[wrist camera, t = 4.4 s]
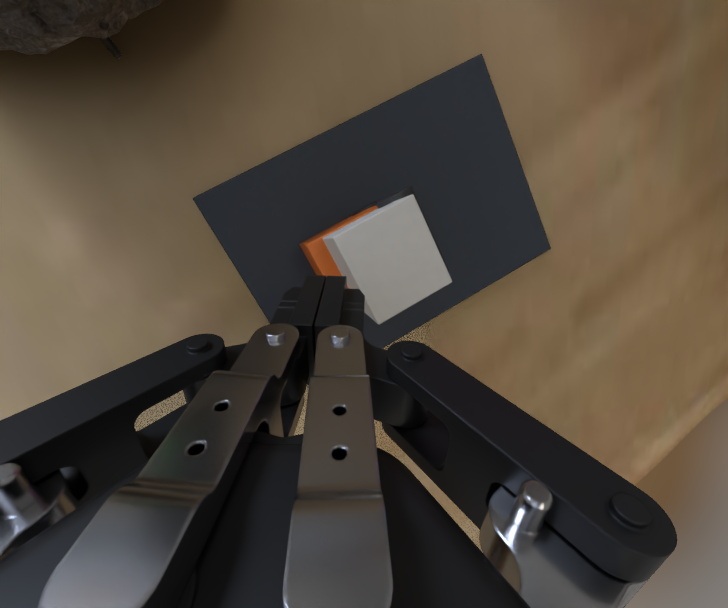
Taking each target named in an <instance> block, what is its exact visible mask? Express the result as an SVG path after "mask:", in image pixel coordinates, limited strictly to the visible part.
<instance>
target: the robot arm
mask: <svg viewBox="0 0 728 608" xmlns="http://www.w3.org/2000/svg"><path fill="white" fill-rule="evenodd" d="M364 305H365V295H364V294H363V293H362V291H361V290H360V289H347V277H346V276H327V277H326V275H307V276H306V278H305V281H304V284H303V286H302V287H292V288H291V289H289V290H288V291H286V292H285V293H284V295H283V297H282V299H281V302H280V303H279V306H278V308H277V310H276V312H275V314H274V316H273V318H272V321H271V323H270V324H269V325H266V326H263V327H261V328H259V329H258V330H257V331H255V333H254V334H253V335H252V337H251V339H250V340H249V342H248V343H246V344H241V345H235V346H229V347H225V345H224V341H223V339H222V338H221V337H219V336H217V335H214V334H199V335H194V336H191V337H188V338H186V339H183V340H181V341H179V342H177V343H174V344H172V345H170V346H168V347H165V348H163V349H161V350H159V351H156V352H154V353H152V354H150V355H147V356H145V357H143V358H141V359H138V360H136V361H134V362H132V363H129V364H127V365H125V366H123V367H120V368H118V369H116V370H114V371H111V372H109V373H107V374H105V375H102V376H100V377H98V378H96V379H93V380H91V381H89V382H87V383H84V384H82V385H80V386H78V387H75V388H73V389H71V390H69V391H66V392H64V393H62V394H60V395H57V396H55V397H53V398H51V399H48V400H46V401H44V402H42V403H39V404H37V405H35V406H33V407H30V408H28V409H26V410H24V411H21V412H19V413H17V414H15V415H12V416H10V417H8V418H6V419H3V420H1V421H0V608H624V607H625V606H626V604H627V603H628V602H629V601H630V600H631V599H632V598H633V596H634V595H635V594H636V593H637V592H638V591H639V590H640V588H641V587H642V586H643V585H644V584H645V583H646V582H647V581H648V579H649V578H650V577H651V576H652V575H653V574H654V573H655V571H656V570H657V569H658V568H659V567H660V566H661V565H662V563H663V562H664V561H665V560H666V559H667V558H668V557H669V555H670V554H671V553H672V552H673V551H674V549H675V547H676V544H677V534H676V531H675V528H674V526H673V524H672V522H671V520H670V518H669V517H668V515H667V514H666V513H665V511H664V510H663V509H662V508H661V507H660V506H659V505H658V504H657V502H655V501H654V500H653V499H652V498H651V497H649V496H648V495H647V494H646V493H644V492H643V491H641V490H640V489H639V488H637V487H636V486H634V485H633V484H631V483H630V482H628V481H627V480H625V479H624V478H622V477H621V476H619V475H618V474H616V473H615V472H613V471H612V470H610V469H609V468H607V467H606V466H604V465H603V464H602V463H600V462H599V461H597V460H596V459H594V458H593V457H591V456H590V455H588V454H587V453H585V452H584V451H582V450H581V449H579V448H578V447H576V446H575V445H573V444H572V443H570V442H569V441H567V440H566V439H564V438H563V437H561V436H560V435H559V434H557V433H556V432H554V431H553V430H551V429H550V428H548V427H547V426H545V425H544V424H542V423H541V422H539V421H538V420H536V419H535V418H533V417H532V416H530V415H529V414H527V413H526V412H524V411H523V410H521V409H520V408H518V407H517V406H516V405H514V404H513V403H511V402H510V401H508V400H507V399H505V398H504V397H502V396H501V395H499V394H498V393H496V392H495V391H493V390H492V389H490V388H489V387H487V386H486V385H484V384H483V383H481V382H480V381H478V380H477V379H475V378H474V377H473V376H471V375H470V374H468V373H467V372H465V371H464V370H462V369H461V368H459V367H458V366H456V365H455V364H453V363H452V362H450V361H449V360H447V359H446V358H444V357H443V356H441V355H440V354H438V353H437V352H435V351H434V350H432V349H431V348H430V347H428V346H426V345H424V344H422V343H419V342H415V341H401V342H397V343H394V344H393V345H391V346H390V347H389V348H388V350H384V349H380V348H377V347H375V346H373V345H371V344H370V343H369V342H368V341H367V340H366V339H365V338H364ZM307 384H309V390H308V399H307V407H306V416H305V425H304V433H303V434H301V435H295V436H294V433H295V430H296V427H297V424H298V421H299V418H300V415H301V412H302V409H303V405H304V393H305V390H306V385H307ZM181 390H183V392H184V396H185V399H186V402H187V404H185V405H183V406H181V407H180V408H178V409H176V410H174V411H173V412H171V413H169V414H167V415H166V416H164V417H162V418H160V419H159V420H157V421H155V422H154V423H152V424H150V425H148V426H147V427H145V428H143V429H141V430H139V431H135V428H134V424H135V421H136V419H137V417H138V416H139V415H140V414H141V413H142V412H143V411H145V410H146V409H148V408H150V407H152V406H154V405H156V404H157V403H159V402H161V401H163V400H165V399H167V398H168V397H170V396H172V395H174V394H176V393H178V392H179V391H181ZM374 420H377V421H381V422H382V427H383V429H384V431H385V432H386V434H387V435H388V436H389V437H390V438H391V439H392V440H393V441H394V442H395V443H396V444H397V445H398V446H399V447H400V448H401V449H402V450H403V451H404V452H405V453H406V454H407V455H408V456H409V457H410V458H411V459H412V460H413V461H414V462H415V463H416V464H417V465H418V467H419V468H420V469H421V470H422V471H423V472H424V473H425V474H426V475H427V476H428V477H429V478H430V479H431V480H432V481H433V482H434V483H435V484H436V485H437V486H438V487H439V488H440V489H441V490H442V491H443V492H444V493H445V494H446V495H447V496H448V497H449V498H450V499H451V500H452V501H453V502H454V503H455V504H456V505H457V506H458V507H459V508H460V510H461V511H462V512H463V513H464V514H465V515H466V516H467V517H468V518H469V519H470V520H471V521H472V522H473V523H474V524H475V525H476V526H477V527H478V528H479V529H480V535H479V539H480V545H481V549H482V552H483V553H482V552H481V550H480V549H479V548H478V547H477V546H476V545H475V544H474V543H473V541H472V540H471V539H470V538H469V537H468V536H467V535H466V533H465V532H464V531H463V530H462V529H461V528H460V527H459V526H458V524H457V523H456V522H455V521H454V520H453V519H452V518H451V516H450V515H449V514H448V513H447V512H446V511H445V510H444V509H443V507H442V506H441V505H440V504H439V503H438V502H437V501H436V499H435V498H434V497H433V496H432V495H431V494H430V493H429V492H428V490H427V489H426V488H425V487H424V486H423V485H422V484H421V482H420V481H419V480H418V479H417V478H416V477H415V476H414V475H413V473H412V472H411V471H410V470H409V469H408V468H407V467H406V466H405V465H404V464H403V463H401V462H400V461H399V460H398V459H397V458H395V457H394V456H392V455H391V454H389V453H387V452H385V451H384V450H382V449H379V448H377V446H376V436H375V427H374Z"/></svg>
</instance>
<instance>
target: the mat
mask: <svg viewBox="0 0 728 608" xmlns="http://www.w3.org/2000/svg"><path fill="white" fill-rule="evenodd" d="M408 186H412V188H413V190H414V192H415V194H416V197H417V199H418V201H419V203H420V205H421V208H422V210H423V212H424V214H425V217H426V219H427V221H428V223H429V226H430V228H431V230H432V232H433V235H434V237H435V239H436V241H437V244H438V246H439V248H440V250H441V253H442V255H443V257H444V259H445V262H446V264H447V266H448V268H449V275H450V277H451V279H452V282H451V283H450V284H448V285H446V286H445V287H443V288H441V289H440V290H438V291H436V292H434V293H433V294H431V295H429V296H428V297H426V298H424V299H422V300H421V301H419V302H417V303H416V304H414V305H412V306H410V307H409V308H407V309H405V310H404V311H402V312H400V313H398V314H397V315H395V316H393V317H391V318H390V319H388V320H386V321H385V322H383V323H381V324H377V323H376V322H375V321H374V320H373V319H372V318H370V317H369V316H368V315H367V314H366V313H365V312H364V338H365V339H366V340H367V341H368V342H369V343H370V344H371V345H373V346H375V347H377V348H380V349H382V348H384V347H385V346H387V345H389V344H390V343H392V342H394V341H395V340H397V339H399V338H400V337H402V336H404V335H406V334H407V333H409V332H411V331H412V330H414V329H416V328H417V327H419V326H421V325H422V324H424V323H426V322H427V321H429V320H431V319H433V318H434V317H436V316H438V315H439V314H441V313H443V312H444V311H446V310H448V309H449V308H451V307H453V306H455V305H456V304H458V303H460V302H461V301H463V300H465V299H466V298H468V297H470V296H471V295H473V294H475V293H476V292H478V291H480V290H482V289H483V288H485V287H487V286H488V285H490V284H492V283H493V282H495V281H497V280H498V279H500V278H502V277H503V276H505V275H507V274H509V273H510V272H512V271H514V270H515V269H517V268H519V267H520V266H522V265H524V264H525V263H527V262H529V261H531V260H532V259H534V258H536V257H537V256H539V255H541V254H542V253H544V252H546V251H547V250H549V249H551V248H550V245H549V242H548V239H547V237H546V234H545V231H544V228H543V225H542V222H541V220H540V217H539V214H538V211H537V208H536V206H535V203H534V200H533V197H532V194H531V191H530V189H529V186H528V183H527V180H526V177H525V174H524V172H523V169H522V166H521V163H520V160H519V158H518V155H517V152H516V149H515V146H514V143H513V141H512V138H511V135H510V132H509V129H508V127H507V124H506V121H505V118H504V115H503V112H502V110H501V107H500V104H499V101H498V98H497V95H496V93H495V90H494V87H493V84H492V81H491V79H490V76H489V73H488V70H487V67H486V64H485V62H484V59H483V56H482V54H480V55H478V56H476V57H474V58H472V59H470V60H468V61H466V62H464V63H462V64H460V65H458V66H456V67H454V68H452V69H450V70H448V71H446V72H444V73H442V74H440V75H438V76H436V77H434V78H432V79H430V80H428V81H426V82H424V83H422V84H420V85H418V86H416V87H414V88H412V89H410V90H408V91H406V92H404V93H402V94H400V95H398V96H396V97H394V98H392V99H390V100H388V101H386V102H384V103H382V104H380V105H378V106H376V107H374V108H372V109H370V110H368V111H366V112H364V113H362V114H360V115H358V116H356V117H354V118H352V119H350V120H348V121H346V122H344V123H342V124H340V125H338V126H336V127H334V128H332V129H330V130H328V131H326V132H324V133H322V134H320V135H318V136H316V137H314V138H312V139H310V140H308V141H306V142H304V143H302V144H300V145H298V146H296V147H294V148H292V149H290V150H288V151H286V152H284V153H282V154H280V155H278V156H276V157H274V158H272V159H270V160H268V161H266V162H264V163H262V164H260V165H258V166H256V167H254V168H252V169H250V170H248V171H246V172H244V173H242V174H240V175H238V176H236V177H234V178H232V179H230V180H228V181H226V182H224V183H222V184H220V185H218V186H216V187H214V188H212V189H210V190H208V191H206V192H204V193H202V194H200V195H198V196H196V197H194V198H193V200H194V201H195V203H196V205H197V206H198V208H199V210H200V211H201V213H202V214H203V216H204V218H205V219H206V221H207V222H208V224H209V226H210V227H211V229H212V230H213V232H214V234H215V235H216V237H217V238H218V240H219V242H220V243H221V245H222V246H223V248H224V250H225V251H226V253H227V254H228V256H229V258H230V259H231V261H232V263H233V264H234V266H235V267H236V269H237V271H238V272H239V274H240V275H241V277H242V279H243V280H244V282H245V283H246V285H247V287H248V288H249V290H250V291H251V293H252V295H253V296H254V298H255V299H256V301H257V303H258V304H259V306H260V308H261V309H262V311H263V312H264V314H265V316H266V317H267V319H268V320H269V322H270V323H271V321H272V318H273V316H274V314H275V312H276V310H277V308H278V306H279V303H280V302H281V299H282V297H283V295H284V293H285V292H286V291H288V290H289V289H291V288H292V287H302V286H303V284H304V281H305V278H306V276H307V275H316V274H315V272H314V270H313V268H312V267H311V265H310V263H309V261H308V259H307V258H306V256H305V254H304V252H303V250H302V249H301V247H300V245H299V244H300V243H302V242H304V241H305V240H307V239H309V238H311V237H313V236H315V235H317V234H319V233H320V232H322V231H324V230H326V229H328V228H330V227H332V226H333V225H335V224H337V223H339V222H341V221H343V220H345V219H347V218H348V217H350V216H352V213H353V212H355V211H357V210H359V209H361V208H362V207H364V206H366V205H368V204H370V203H372V202H374V201H377V202H380V201H381V200H383V199H385V198H387V197H389V196H391V195H392V194H394V193H396V192H398V191H400V190H402V189H404V188H406V187H408ZM308 385H309V384H308Z"/></svg>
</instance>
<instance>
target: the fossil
mask: <svg viewBox="0 0 728 608" xmlns="http://www.w3.org/2000/svg"><path fill="white" fill-rule="evenodd" d="M162 1H163V0H0V51H1V50H15V51H17V52H19V53H25V54H27V55H31V54H37V53H39V54H47V53H49V52H51V51H53V50H55V49H58V48H59V47H61V46H64V45H66V44H68V43H70V42H72V41H74V40H76V39H78V38H81V37H83V36H89V37H96V38H100V40H101V41H102V42H103V44H104V45H105V46H106V47H107V49H108V50H109V51H110V52H111V53H112V54H113V55H114V56H115V57H116V58H117V59H119V58H120V57H121V56H122V55H121V53H120V51H119V50H118V49H117V47H116V46H115V44H114V43H113V42H112V40H111V39H110V37H109V36H111V35H113V34H116V33H119V31H120V28H121V27H123V26H124V25H125V23H126V21H127V20H128V19H134V18H136V17H137V16H138V15H139V14H141V13H142V12H143V11H146V10H148V9H151V8H153V7H156V6H158V5H159V4H160V3H161V2H162Z"/></svg>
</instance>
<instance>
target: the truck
mask: <svg viewBox="0 0 728 608" xmlns="http://www.w3.org/2000/svg"><path fill="white" fill-rule="evenodd" d="M299 245H300V247H301V249H302V250H303V252H304V254H305V256H306V258H307V259H308V261H309V263H310V265H311V267H312V268H313V270H314V272H315V274H316V275H326V277H327V276H346V277H347V289H360V290H361V291H362V293H363V294H364V295H365V305H364V312H365V313H366V314H367V315H368V316H369V317H370V318H372V319H373V320H374V321H375V322H376V323H377V324H381V323H383V322H385V321H386V320H388V319H390V318H391V317H393V316H395V315H397V314H398V313H400V312H402V311H404V310H405V309H407V308H409V307H410V306H412V305H414V304H416V303H417V302H419V301H421V300H422V299H424V298H426V297H428V296H429V295H431V294H433V293H434V292H436V291H438V290H440V289H441V288H443V287H445V286H446V285H448V284H450V283H451V282H452V279H451V277H450V275H449V268H448V266H447V264H446V262H445V259H444V257H443V255H442V253H441V250H440V248H439V246H438V244H437V241H436V239H435V237H434V235H433V232H432V230H431V228H430V226H429V223H428V221H427V219H426V217H425V214H424V212H423V210H422V208H421V205H420V203H419V201H418V199H417V197H416V194H415V192H414V190H413V188H412V186H408V187H406V188H404V189H402V190H400V191H398V192H396V193H394V194H392V195H391V196H389V197H387V198H385V199H383V200H381V201H380V202H377V201H374V202H372V203H370V204H368V205H366V206H364V207H362V208H361V209H359V210H357V211H355V212H353V213H352V216H350V217H348V218H347V219H345V220H343V221H341V222H339V223H337V224H335V225H333V226H332V227H330V228H328V229H326V230H324V231H322V232H320V233H319V234H317V235H315V236H313V237H311V238H309V239H307V240H305V241H304V242H302V243H300V244H299Z"/></svg>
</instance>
